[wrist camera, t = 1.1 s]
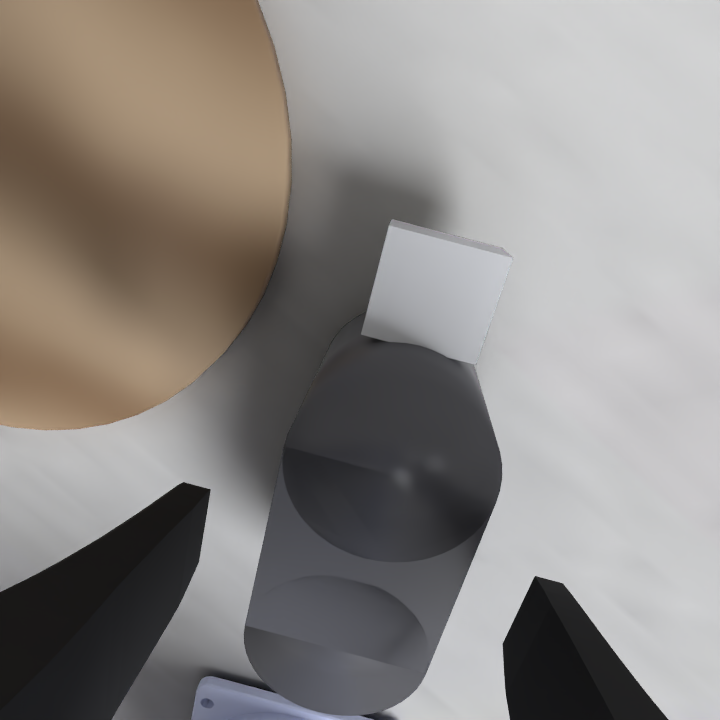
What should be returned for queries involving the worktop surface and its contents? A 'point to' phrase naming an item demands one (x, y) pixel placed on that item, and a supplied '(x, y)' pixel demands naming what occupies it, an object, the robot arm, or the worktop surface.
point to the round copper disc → (132, 199)
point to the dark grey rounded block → (382, 485)
